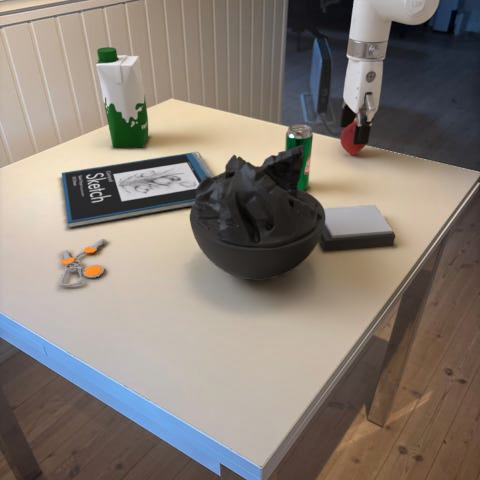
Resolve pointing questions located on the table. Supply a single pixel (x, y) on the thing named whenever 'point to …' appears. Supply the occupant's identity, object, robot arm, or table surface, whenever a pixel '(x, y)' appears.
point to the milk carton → (123, 98)
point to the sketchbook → (132, 188)
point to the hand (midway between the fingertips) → (353, 135)
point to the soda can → (304, 137)
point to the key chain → (88, 272)
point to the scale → (355, 228)
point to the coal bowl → (257, 217)
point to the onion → (350, 139)
